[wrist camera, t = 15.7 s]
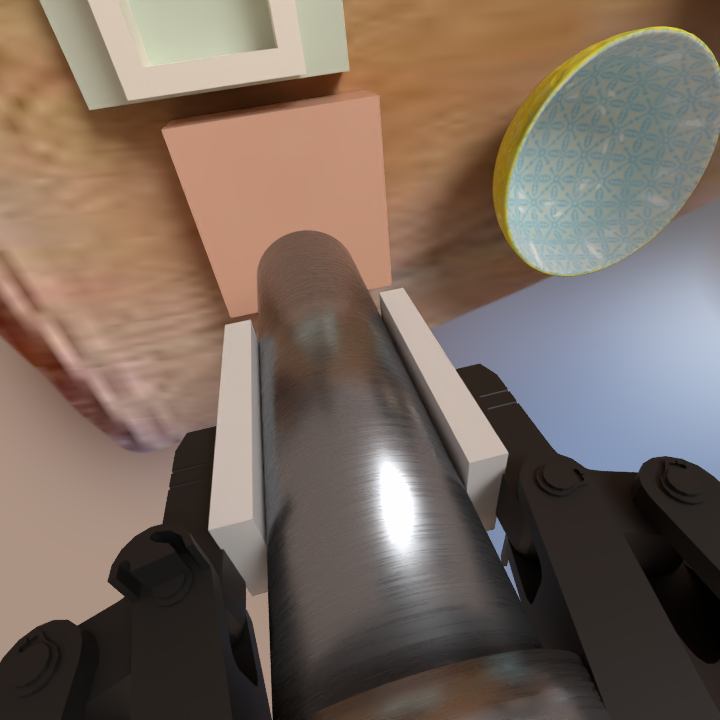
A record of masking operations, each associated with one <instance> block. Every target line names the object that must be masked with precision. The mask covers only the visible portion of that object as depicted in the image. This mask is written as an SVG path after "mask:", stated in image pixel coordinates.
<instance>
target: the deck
mask: <svg viewBox="0 0 720 720" xmlns="http://www.w3.org/2000/svg"><path fill="white" fill-rule="evenodd" d="M40 3H41V5H42V7H43V9H44V11H45V14H46V16H47V18H48V20H49V22H50V25H51V27H52V29H53V31H54V33H55V35H56V38H57V40H58V42H59V44H60V46H61V49H62V51H63V53H64V55H65V57H66V60H67V62H68V64H69V66H70V68H71V71H72V73H73V75H74V77H75V79H76V82H77V84H78V86H79V88H80V90H81V93H82V95H83V97H84V99H85V101H86V103H87V106H88V108H89V110H94V109H101V108H107V107H114V106H120V105H127V104H134V103H140V102H147V101H153V100H160V99H166V98H173V97H180V96H186V95H193V94H199V93H206V92H213V91H219V90H226V89H232V88H239V87H246V86H252V85H259V84H265V83H272V82H279V81H285V80H292V79H298V78H305V77H312V76H318V75H325V74H331V73H338V72H345V71H349V61H348V51H347V41H346V32H345V22H344V12H343V3H342V0H40Z"/></svg>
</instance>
